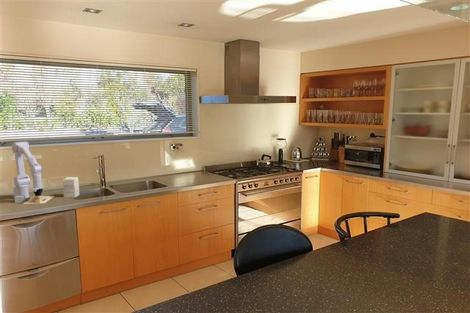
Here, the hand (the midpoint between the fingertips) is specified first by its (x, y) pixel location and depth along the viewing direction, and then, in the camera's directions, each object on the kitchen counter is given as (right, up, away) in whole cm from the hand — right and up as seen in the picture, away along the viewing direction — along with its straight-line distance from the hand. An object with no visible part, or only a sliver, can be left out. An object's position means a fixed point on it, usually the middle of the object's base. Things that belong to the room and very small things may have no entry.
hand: (38, 198), depth 251 cm
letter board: (-1, -1, +3) cm, 3 cm away
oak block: (+1, -2, -4) cm, 4 cm away
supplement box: (+18, 0, +15) cm, 23 cm away
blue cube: (-12, -2, -3) cm, 12 cm away
